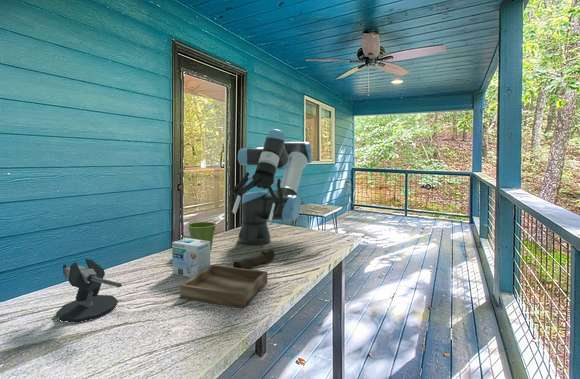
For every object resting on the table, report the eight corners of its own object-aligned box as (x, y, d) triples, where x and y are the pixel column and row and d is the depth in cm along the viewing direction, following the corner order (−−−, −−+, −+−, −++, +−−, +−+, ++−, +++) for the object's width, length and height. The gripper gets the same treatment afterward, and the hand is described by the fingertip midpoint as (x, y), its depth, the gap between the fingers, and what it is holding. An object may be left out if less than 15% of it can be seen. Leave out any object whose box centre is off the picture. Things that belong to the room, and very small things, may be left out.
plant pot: (222, 251, 122) (222, 224, 121) (195, 257, 114) (195, 229, 112) (208, 245, 130) (207, 220, 129) (182, 250, 122) (181, 224, 121)
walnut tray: (212, 275, 97) (212, 264, 96) (267, 282, 91) (267, 271, 91) (179, 297, 80) (179, 285, 80) (244, 308, 75) (244, 295, 75)
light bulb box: (171, 274, 97) (171, 242, 96) (186, 267, 103) (185, 237, 102) (198, 279, 93) (197, 246, 92) (211, 272, 99) (211, 240, 98)
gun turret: (99, 335, 63) (96, 277, 61) (42, 315, 70) (38, 263, 69) (148, 308, 74) (146, 259, 73) (94, 294, 82) (92, 248, 81)
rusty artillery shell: (239, 274, 98) (239, 261, 98) (232, 271, 101) (232, 258, 100) (279, 261, 112) (279, 249, 112) (271, 258, 115) (272, 247, 114)
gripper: (234, 154, 113) (216, 206, 105) (298, 168, 110) (284, 221, 102) (238, 163, 120) (221, 212, 112) (298, 176, 117) (285, 227, 109)
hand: (251, 217), depth 107 cm, fingers open, 13 cm apart
